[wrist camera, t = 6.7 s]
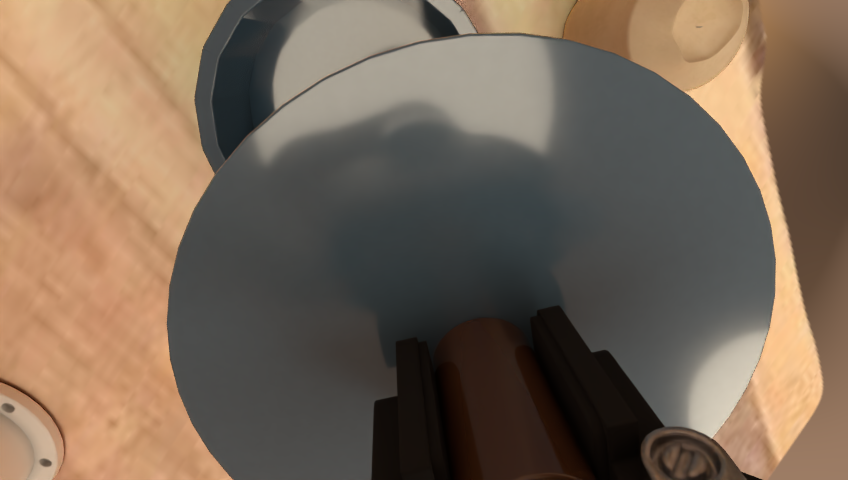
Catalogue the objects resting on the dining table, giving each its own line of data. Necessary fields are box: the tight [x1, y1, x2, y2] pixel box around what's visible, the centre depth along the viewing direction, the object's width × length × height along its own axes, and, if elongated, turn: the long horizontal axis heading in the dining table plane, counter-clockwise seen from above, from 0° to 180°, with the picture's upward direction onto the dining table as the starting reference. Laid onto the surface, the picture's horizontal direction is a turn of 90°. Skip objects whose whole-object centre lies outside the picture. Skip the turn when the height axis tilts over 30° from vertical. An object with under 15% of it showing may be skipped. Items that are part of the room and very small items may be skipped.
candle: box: [563, 0, 749, 91], centre depth 24 cm, size 6×6×10 cm
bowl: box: [195, 0, 478, 174], centre depth 26 cm, size 15×15×7 cm
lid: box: [167, 33, 776, 480], centre depth 11 cm, size 16×16×6 cm
